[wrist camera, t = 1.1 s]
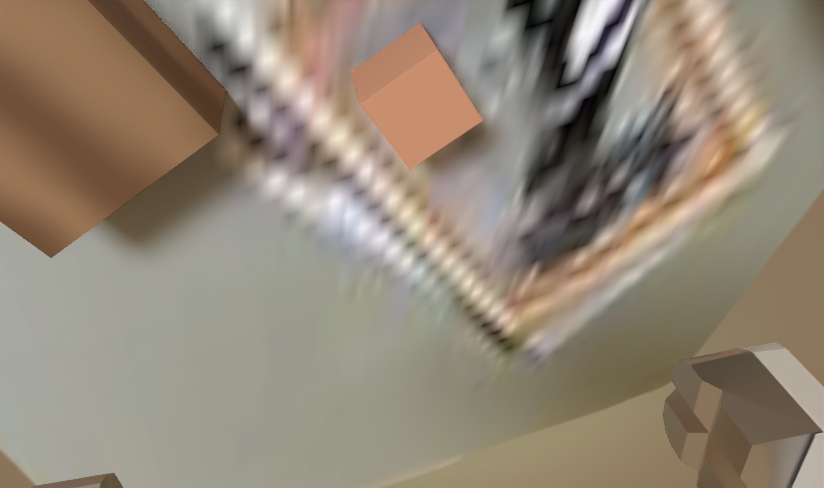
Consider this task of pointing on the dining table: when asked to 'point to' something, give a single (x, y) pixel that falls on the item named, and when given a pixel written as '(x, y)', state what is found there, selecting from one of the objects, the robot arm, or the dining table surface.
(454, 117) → the terracotta block
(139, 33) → the walnut block
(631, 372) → the dining table surface
